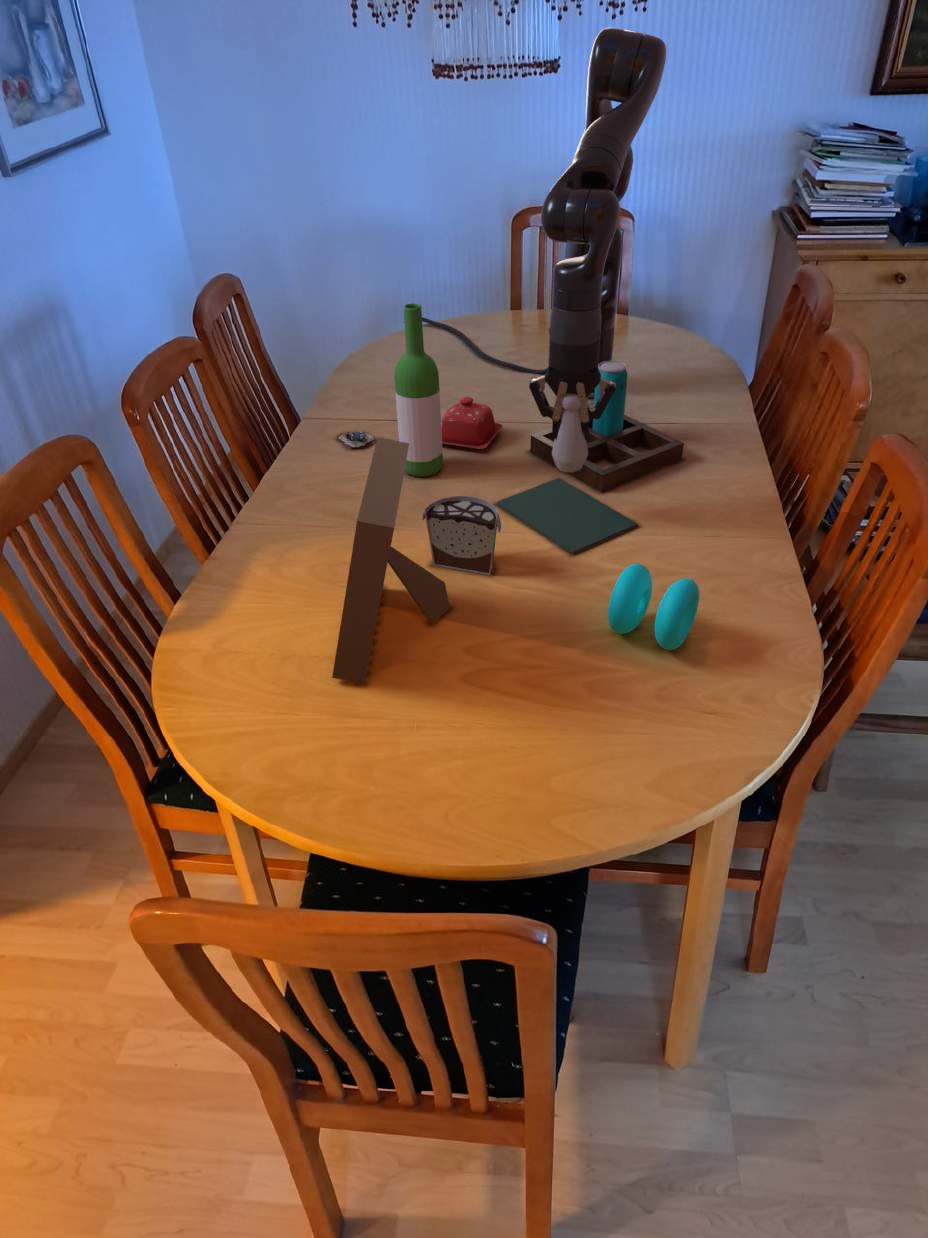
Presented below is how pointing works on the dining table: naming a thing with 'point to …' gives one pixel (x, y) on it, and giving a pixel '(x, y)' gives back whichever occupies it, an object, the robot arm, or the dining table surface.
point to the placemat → (567, 515)
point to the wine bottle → (418, 400)
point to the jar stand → (617, 453)
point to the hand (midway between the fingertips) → (569, 440)
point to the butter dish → (469, 425)
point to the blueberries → (356, 438)
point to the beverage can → (612, 398)
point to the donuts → (634, 601)
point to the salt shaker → (570, 437)
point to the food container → (462, 533)
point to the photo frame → (379, 564)
